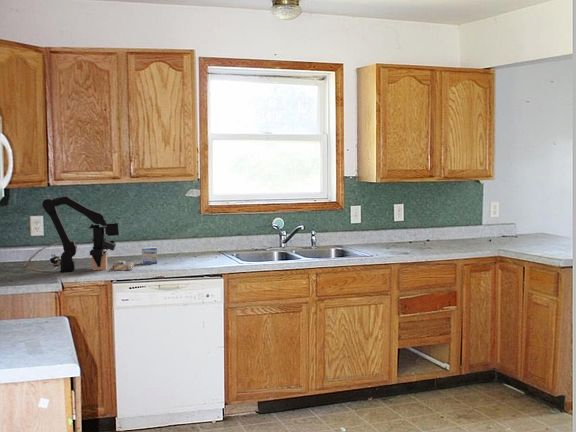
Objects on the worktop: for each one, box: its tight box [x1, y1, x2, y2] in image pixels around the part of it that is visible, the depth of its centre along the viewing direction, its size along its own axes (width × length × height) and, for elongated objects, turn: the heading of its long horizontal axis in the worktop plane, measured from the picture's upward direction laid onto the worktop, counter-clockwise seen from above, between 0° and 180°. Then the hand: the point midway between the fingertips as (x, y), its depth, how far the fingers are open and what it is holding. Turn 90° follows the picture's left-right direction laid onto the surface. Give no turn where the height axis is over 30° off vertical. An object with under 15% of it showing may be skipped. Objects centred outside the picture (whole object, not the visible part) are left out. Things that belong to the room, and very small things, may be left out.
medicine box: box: [141, 246, 158, 265], centre depth 375 cm, size 8×4×9 cm, turn 106°
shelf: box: [111, 261, 135, 272], centre depth 360 cm, size 10×11×3 cm
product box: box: [91, 252, 108, 271], centre depth 359 cm, size 7×4×8 cm, turn 94°
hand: (99, 266), depth 359 cm, fingers closed on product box, 4 cm apart
